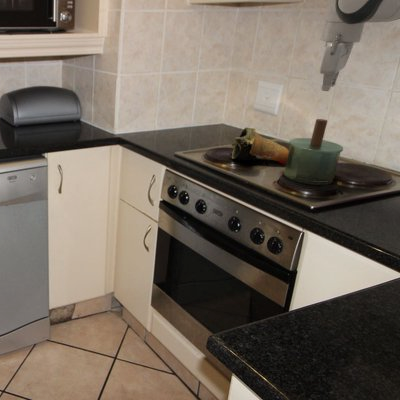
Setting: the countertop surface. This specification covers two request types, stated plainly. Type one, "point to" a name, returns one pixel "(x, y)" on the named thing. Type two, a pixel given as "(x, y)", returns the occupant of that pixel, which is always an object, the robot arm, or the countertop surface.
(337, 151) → the tin lid
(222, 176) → the countertop surface
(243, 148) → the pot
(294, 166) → the tin
